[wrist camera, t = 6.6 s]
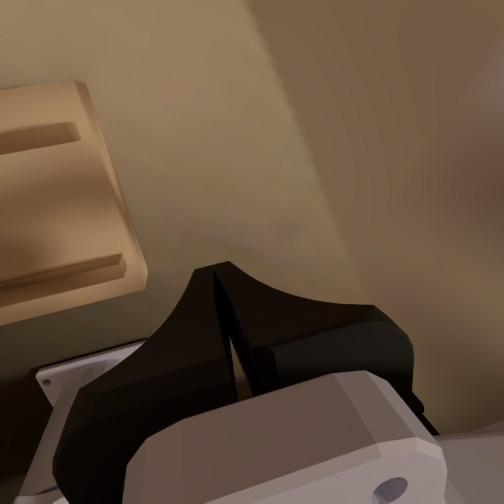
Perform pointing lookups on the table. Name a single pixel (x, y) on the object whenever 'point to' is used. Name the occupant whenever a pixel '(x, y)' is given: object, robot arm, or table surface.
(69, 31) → the table surface
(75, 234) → the channel board
